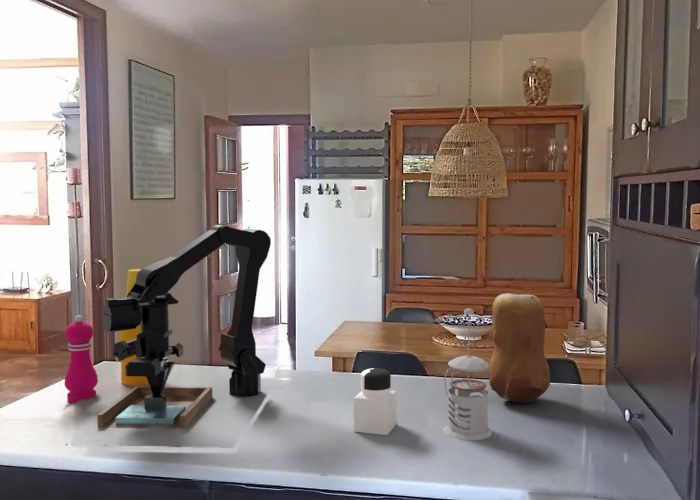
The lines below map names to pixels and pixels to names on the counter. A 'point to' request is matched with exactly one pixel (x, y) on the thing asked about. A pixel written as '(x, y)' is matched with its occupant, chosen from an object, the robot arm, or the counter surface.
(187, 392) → the walnut box
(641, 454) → the counter surface
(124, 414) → the cover plate
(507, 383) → the butternut squash
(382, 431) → the medicine bottle
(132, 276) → the yellow bottle
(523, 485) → the counter surface
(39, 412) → the counter surface
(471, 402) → the french press
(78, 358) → the pepper mill
